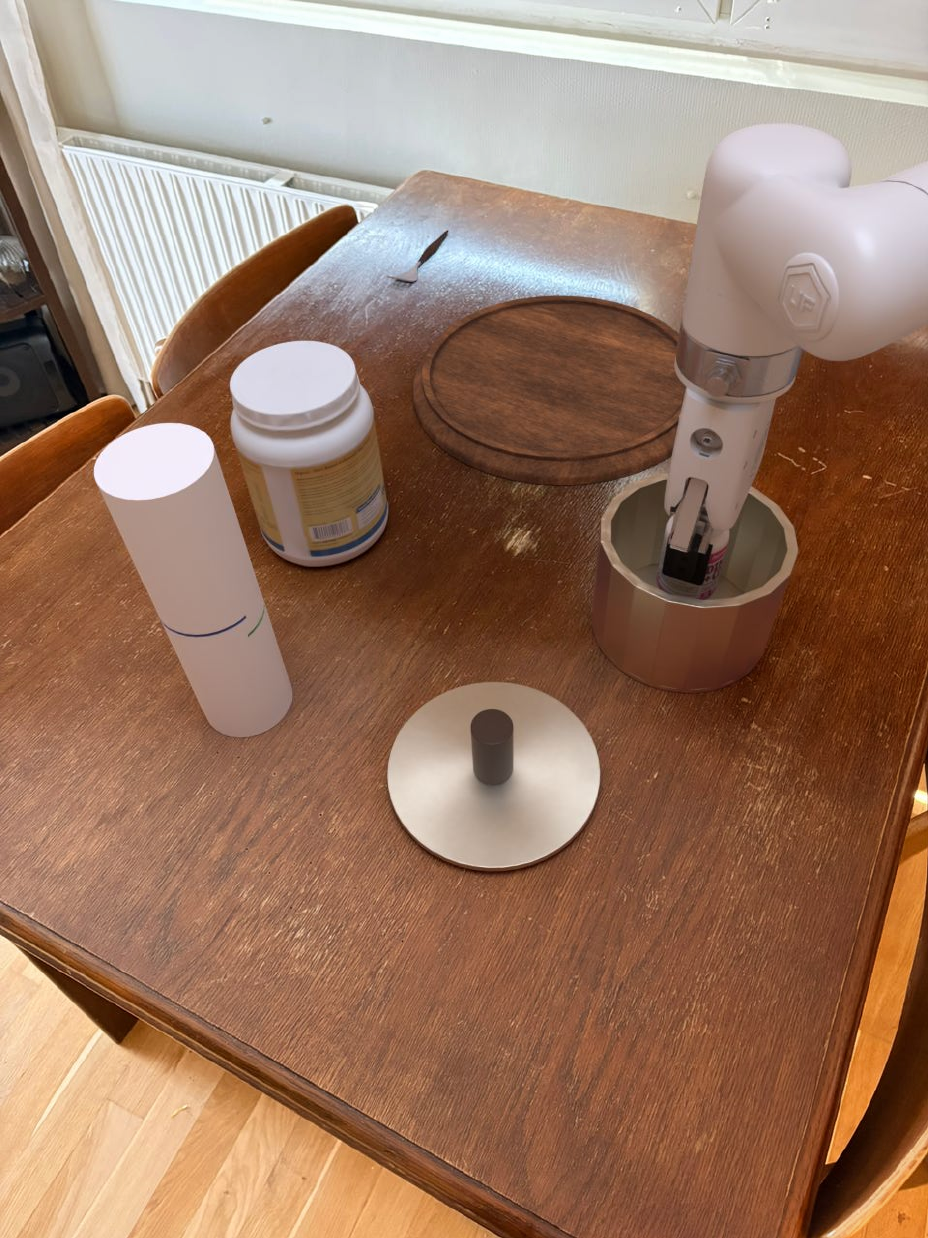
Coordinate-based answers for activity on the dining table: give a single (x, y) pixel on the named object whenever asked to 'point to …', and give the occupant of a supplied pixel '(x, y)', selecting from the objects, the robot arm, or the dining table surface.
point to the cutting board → (553, 390)
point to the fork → (420, 260)
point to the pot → (682, 626)
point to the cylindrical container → (197, 572)
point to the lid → (493, 776)
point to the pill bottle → (713, 571)
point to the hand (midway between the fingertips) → (694, 552)
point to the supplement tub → (309, 452)
